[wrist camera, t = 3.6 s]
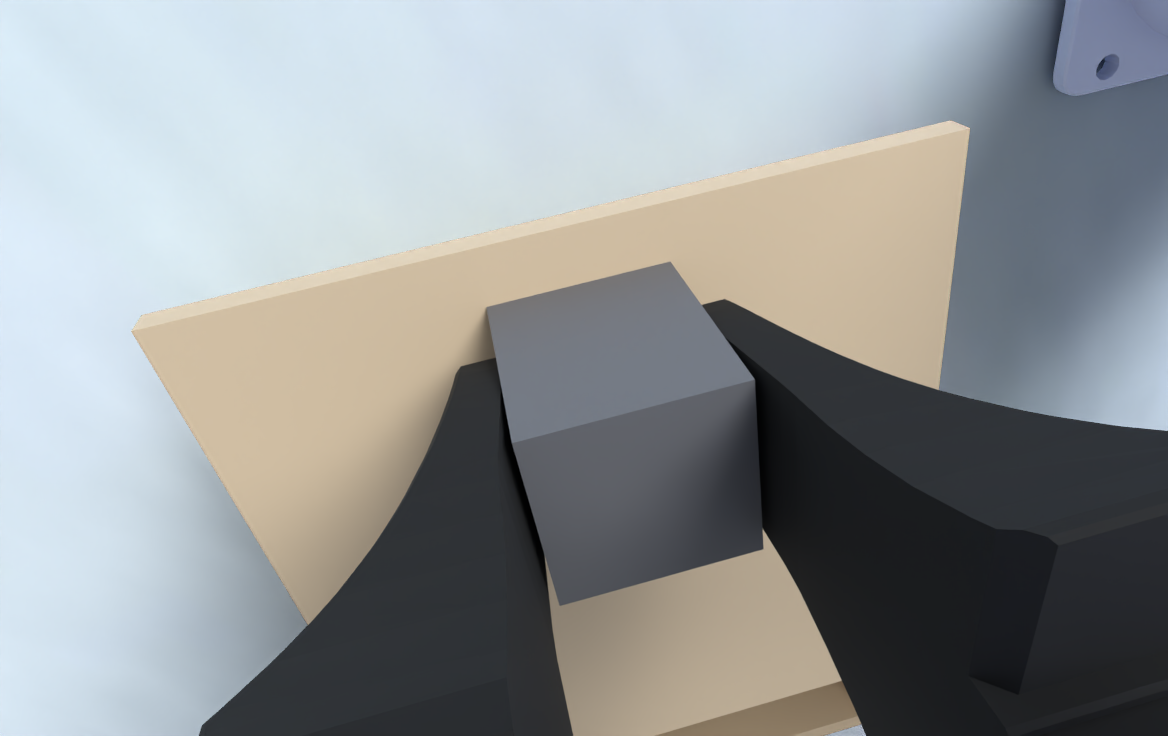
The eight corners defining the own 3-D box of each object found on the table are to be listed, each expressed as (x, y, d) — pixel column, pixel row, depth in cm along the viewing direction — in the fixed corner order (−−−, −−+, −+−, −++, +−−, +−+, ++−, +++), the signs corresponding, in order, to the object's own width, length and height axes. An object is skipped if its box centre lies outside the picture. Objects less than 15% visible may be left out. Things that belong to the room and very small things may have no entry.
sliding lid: (950, 120, 12) (1156, 204, 9) (895, 645, 20) (993, 796, 17) (141, 315, 11) (27, 492, 8) (416, 785, 19) (417, 975, 16)
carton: (829, 229, 17) (927, 307, 14) (823, 609, 25) (885, 716, 22) (277, 366, 17) (243, 484, 13) (447, 716, 24) (453, 846, 21)
